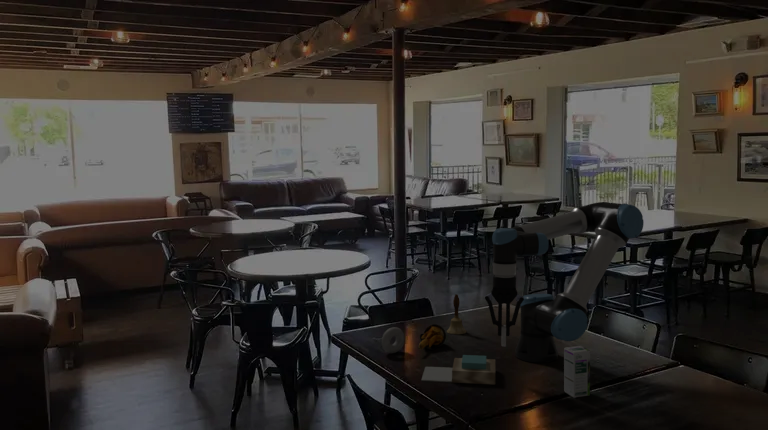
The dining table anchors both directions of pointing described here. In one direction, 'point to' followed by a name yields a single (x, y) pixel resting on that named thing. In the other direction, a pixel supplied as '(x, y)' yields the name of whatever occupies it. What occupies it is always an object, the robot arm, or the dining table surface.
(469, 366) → the teal block
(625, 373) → the dining table surface
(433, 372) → the mat
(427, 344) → the fried shrimp in bowl
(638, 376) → the dining table surface
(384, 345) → the donut
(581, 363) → the syrup box
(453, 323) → the hand bell
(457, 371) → the serving board
